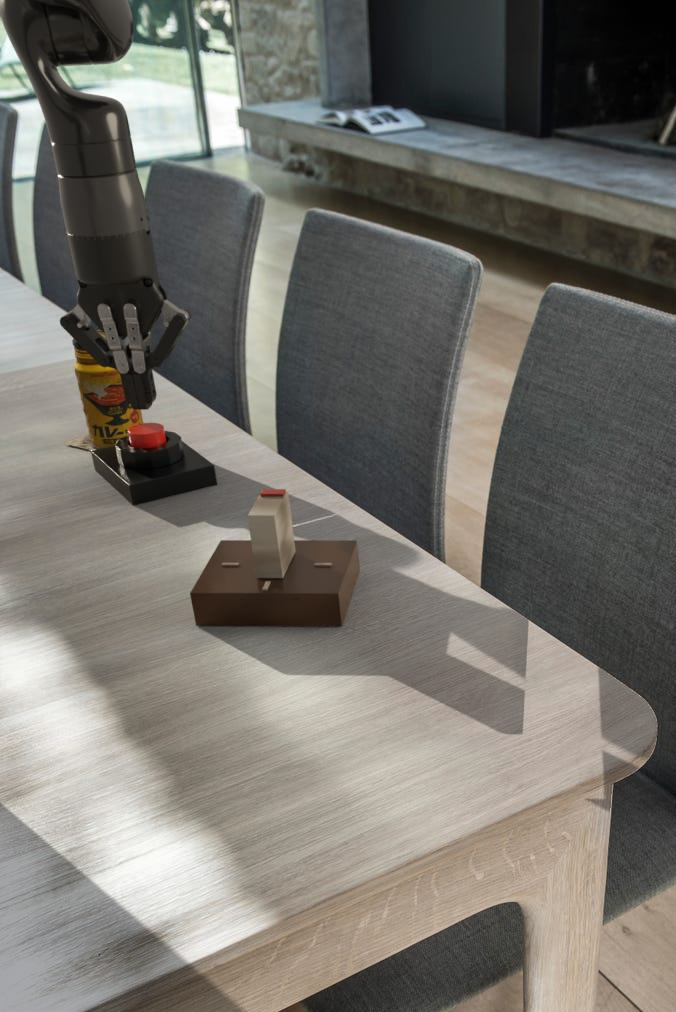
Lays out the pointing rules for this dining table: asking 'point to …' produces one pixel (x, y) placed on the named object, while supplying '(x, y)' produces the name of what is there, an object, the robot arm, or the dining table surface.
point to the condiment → (102, 402)
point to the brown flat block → (277, 586)
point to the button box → (153, 469)
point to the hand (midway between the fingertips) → (143, 407)
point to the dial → (272, 533)
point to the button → (147, 435)
